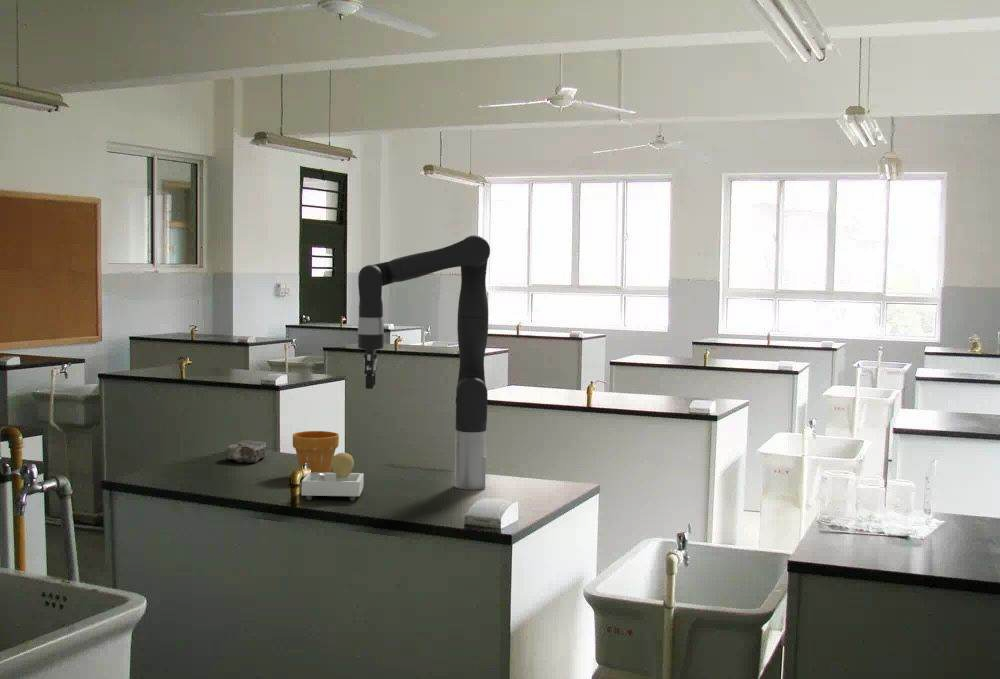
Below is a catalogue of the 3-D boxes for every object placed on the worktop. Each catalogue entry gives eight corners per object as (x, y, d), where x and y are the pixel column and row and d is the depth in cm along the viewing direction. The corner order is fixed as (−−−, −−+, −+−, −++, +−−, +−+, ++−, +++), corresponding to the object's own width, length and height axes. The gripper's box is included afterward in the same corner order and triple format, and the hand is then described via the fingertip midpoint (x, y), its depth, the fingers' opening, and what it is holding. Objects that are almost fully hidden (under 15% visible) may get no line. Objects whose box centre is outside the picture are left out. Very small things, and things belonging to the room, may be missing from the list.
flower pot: (310, 469, 322) (311, 429, 321) (347, 474, 315) (347, 433, 315) (282, 477, 309) (283, 435, 308) (320, 482, 303) (320, 439, 302)
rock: (241, 455, 344) (219, 464, 329) (240, 437, 343) (218, 445, 329) (275, 457, 341) (254, 466, 326) (274, 438, 340) (253, 446, 326)
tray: (363, 492, 291) (363, 473, 291) (359, 501, 279) (359, 482, 279) (308, 491, 290) (308, 472, 290) (301, 500, 278) (301, 481, 278)
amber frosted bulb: (349, 490, 281) (349, 455, 280) (327, 489, 282) (328, 454, 282) (356, 485, 287) (357, 451, 287) (335, 484, 289) (336, 450, 288)
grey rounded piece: (325, 485, 286) (325, 472, 286) (323, 489, 282) (323, 475, 282) (311, 485, 286) (311, 471, 286) (309, 488, 282) (309, 474, 282)
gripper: (382, 334, 289) (381, 390, 291) (385, 331, 304) (384, 384, 305) (355, 334, 289) (355, 389, 290) (360, 331, 303) (359, 384, 304)
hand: (370, 387), depth 298 cm, fingers open, 8 cm apart
